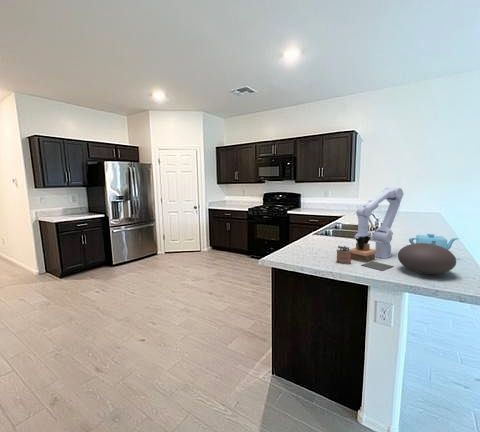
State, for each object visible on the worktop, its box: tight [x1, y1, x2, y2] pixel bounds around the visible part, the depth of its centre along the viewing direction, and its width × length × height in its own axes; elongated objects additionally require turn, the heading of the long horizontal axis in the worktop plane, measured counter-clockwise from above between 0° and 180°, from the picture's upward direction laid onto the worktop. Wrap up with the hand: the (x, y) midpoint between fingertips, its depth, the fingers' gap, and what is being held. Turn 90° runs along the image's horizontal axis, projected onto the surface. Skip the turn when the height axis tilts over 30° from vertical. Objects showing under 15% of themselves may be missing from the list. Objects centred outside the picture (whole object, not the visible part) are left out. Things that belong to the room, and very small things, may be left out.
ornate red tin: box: [335, 245, 352, 265], centre depth 154 cm, size 8×3×10 cm, turn 59°
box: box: [351, 253, 376, 263], centre depth 162 cm, size 10×10×4 cm
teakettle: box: [408, 233, 460, 251], centre depth 162 cm, size 19×19×15 cm
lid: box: [349, 242, 377, 256], centre depth 162 cm, size 12×12×6 cm
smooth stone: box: [397, 242, 457, 275], centre depth 136 cm, size 25×25×15 cm
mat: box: [360, 260, 394, 272], centre depth 148 cm, size 12×12×1 cm
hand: (362, 248), depth 162 cm, fingers closed on lid, 3 cm apart
